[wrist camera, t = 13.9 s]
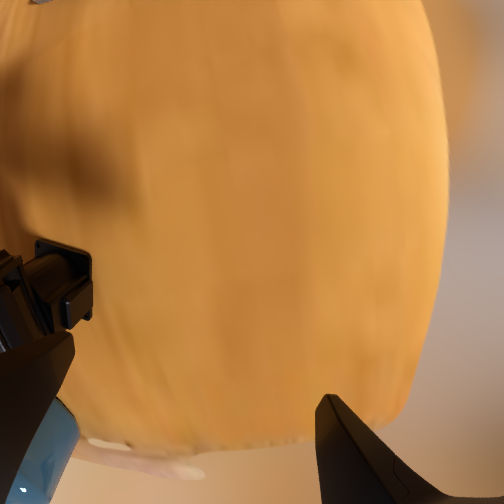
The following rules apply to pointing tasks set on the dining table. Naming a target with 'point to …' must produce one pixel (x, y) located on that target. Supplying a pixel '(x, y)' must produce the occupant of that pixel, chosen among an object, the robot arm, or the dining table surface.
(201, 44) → the dining table surface
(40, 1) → the tray
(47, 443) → the wine bottle
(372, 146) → the dining table surface
